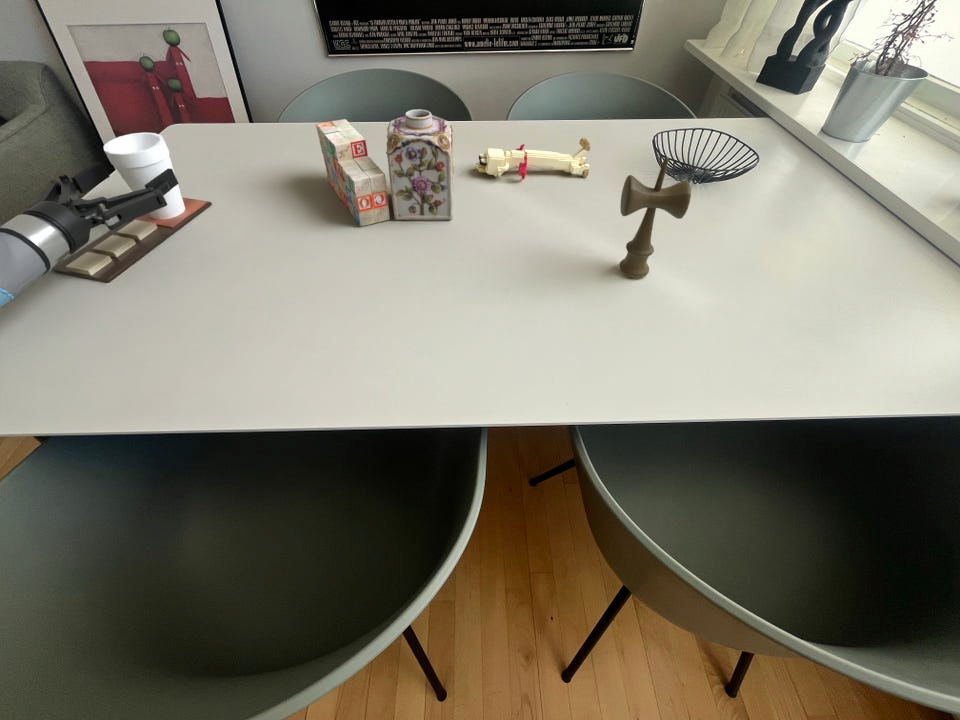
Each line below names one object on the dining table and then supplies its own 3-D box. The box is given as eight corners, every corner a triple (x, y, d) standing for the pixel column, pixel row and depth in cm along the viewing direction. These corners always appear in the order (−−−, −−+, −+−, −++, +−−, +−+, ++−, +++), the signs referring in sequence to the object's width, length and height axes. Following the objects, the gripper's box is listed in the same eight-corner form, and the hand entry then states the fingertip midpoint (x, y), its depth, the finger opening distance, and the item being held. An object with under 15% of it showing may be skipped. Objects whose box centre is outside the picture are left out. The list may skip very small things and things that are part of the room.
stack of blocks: (391, 220, 94) (383, 157, 85) (360, 228, 92) (349, 164, 83) (355, 175, 107) (345, 117, 98) (328, 181, 105) (315, 122, 96)
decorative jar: (393, 221, 94) (381, 125, 81) (398, 192, 102) (388, 101, 89) (454, 221, 94) (452, 125, 81) (454, 192, 102) (452, 101, 89)
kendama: (604, 259, 86) (631, 146, 72) (658, 263, 85) (697, 150, 71) (606, 279, 82) (635, 163, 67) (663, 283, 81) (705, 168, 67)
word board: (53, 272, 81) (47, 264, 79) (165, 197, 99) (161, 189, 98) (108, 283, 79) (103, 275, 78) (212, 204, 97) (209, 197, 96)
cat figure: (578, 168, 114) (474, 160, 111) (588, 130, 108) (478, 121, 105) (587, 188, 107) (476, 180, 104) (598, 148, 101) (480, 139, 98)
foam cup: (151, 200, 96) (117, 133, 87) (199, 198, 97) (170, 131, 88) (132, 224, 90) (93, 155, 80) (184, 222, 90) (151, 153, 81)
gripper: (-11, 248, 75) (87, 186, 90) (135, 265, 73) (211, 198, 87) (-48, 204, 70) (63, 145, 84) (108, 221, 67) (194, 157, 82)
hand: (138, 172), depth 86 cm, fingers open, 13 cm apart
